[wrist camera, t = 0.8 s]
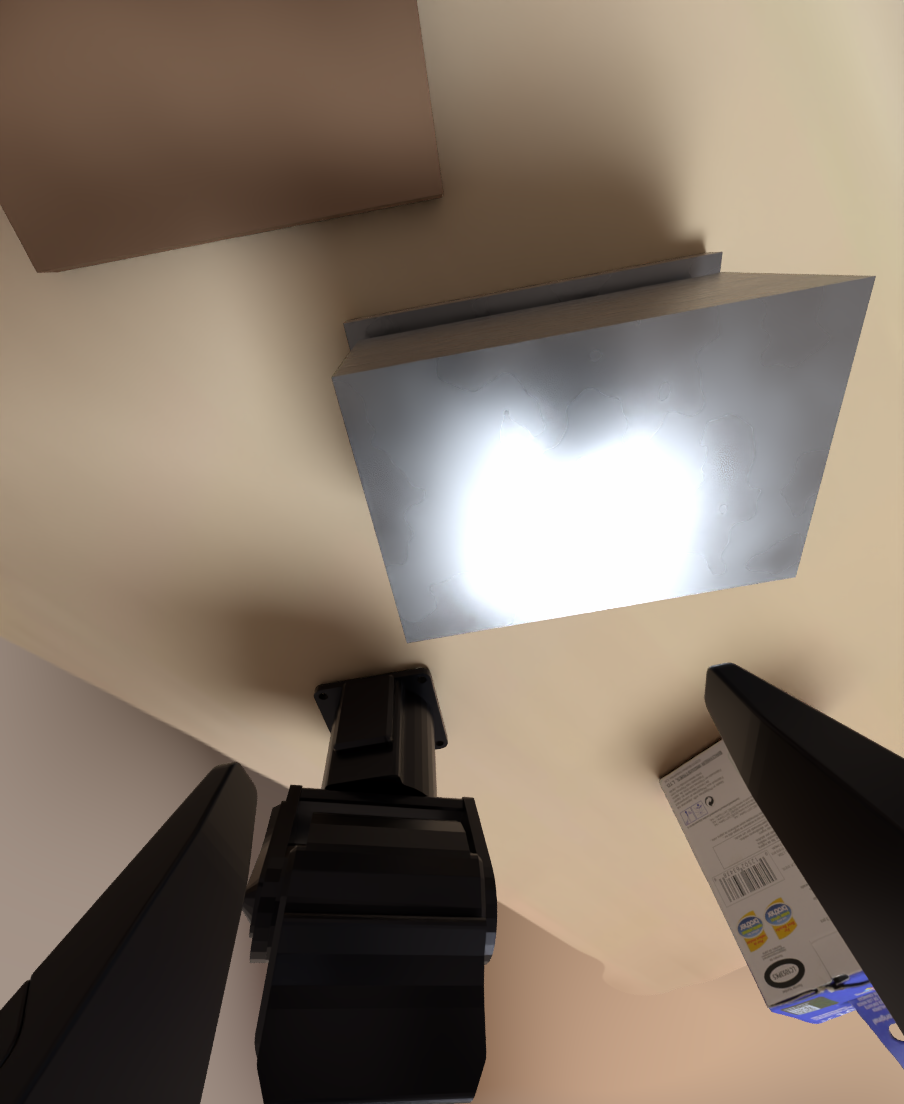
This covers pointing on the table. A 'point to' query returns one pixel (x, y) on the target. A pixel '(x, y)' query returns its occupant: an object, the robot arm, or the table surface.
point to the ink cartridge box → (769, 900)
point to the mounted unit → (596, 437)
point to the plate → (205, 120)
